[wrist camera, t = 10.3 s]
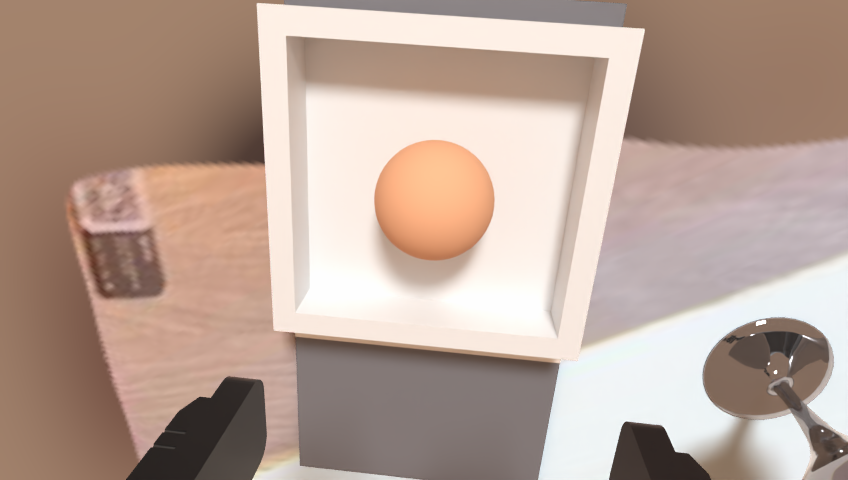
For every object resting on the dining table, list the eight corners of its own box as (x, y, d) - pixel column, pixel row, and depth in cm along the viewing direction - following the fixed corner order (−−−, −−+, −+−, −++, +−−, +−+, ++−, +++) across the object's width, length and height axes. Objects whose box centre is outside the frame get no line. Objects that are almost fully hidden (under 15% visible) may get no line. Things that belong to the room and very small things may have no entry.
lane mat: (624, 4, 25) (627, 3, 25) (534, 487, 37) (535, 493, 36) (286, -18, 26) (282, -19, 26) (301, 461, 38) (299, 466, 37)
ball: (499, 133, 27) (503, 162, 22) (487, 238, 29) (488, 287, 24) (386, 124, 27) (364, 150, 22) (383, 229, 29) (362, 274, 24)
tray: (622, 27, 25) (644, 29, 22) (566, 324, 31) (577, 361, 28) (284, 4, 26) (256, 3, 23) (294, 298, 32) (273, 330, 29)
